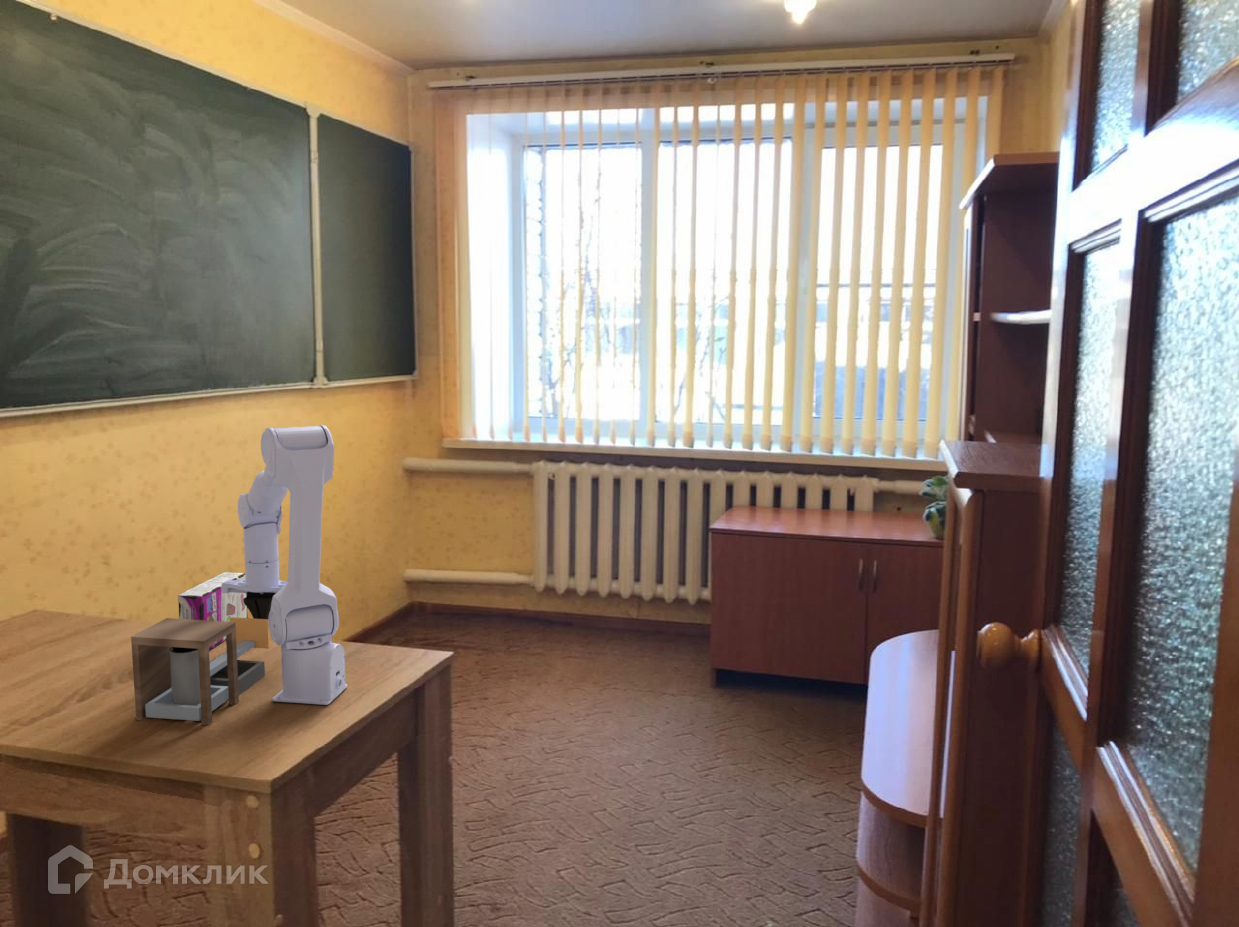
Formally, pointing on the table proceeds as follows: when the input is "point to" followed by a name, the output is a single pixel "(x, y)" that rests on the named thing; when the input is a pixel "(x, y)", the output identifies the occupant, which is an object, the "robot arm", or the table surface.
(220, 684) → the box
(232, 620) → the slider
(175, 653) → the gray cylinder
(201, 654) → the tunnel
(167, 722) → the table surface
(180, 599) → the candy bar box
